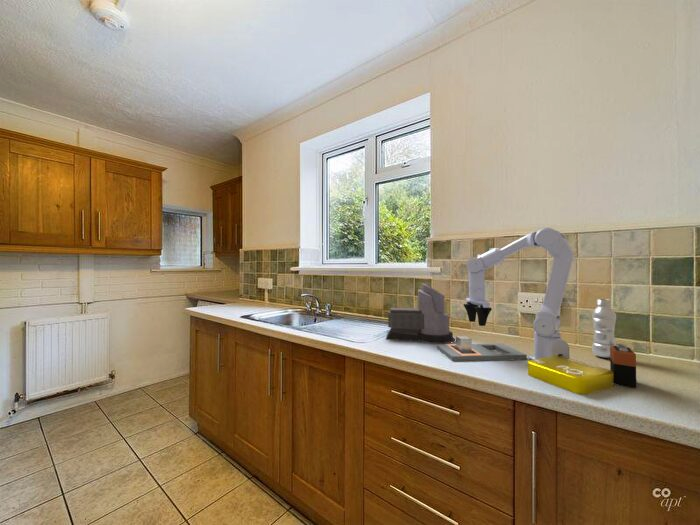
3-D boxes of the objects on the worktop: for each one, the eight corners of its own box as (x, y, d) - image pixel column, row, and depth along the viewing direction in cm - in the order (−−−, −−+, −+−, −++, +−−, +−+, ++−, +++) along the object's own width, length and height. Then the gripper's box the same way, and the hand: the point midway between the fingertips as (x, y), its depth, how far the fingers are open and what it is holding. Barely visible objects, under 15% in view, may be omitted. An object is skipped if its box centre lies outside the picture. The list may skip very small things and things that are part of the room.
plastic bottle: (609, 355, 99) (608, 298, 100) (622, 361, 93) (621, 301, 93) (587, 353, 101) (587, 298, 101) (598, 359, 95) (598, 300, 95)
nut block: (471, 355, 100) (471, 338, 100) (460, 355, 99) (460, 339, 99) (466, 352, 104) (466, 336, 104) (456, 352, 103) (455, 336, 103)
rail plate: (526, 359, 95) (526, 354, 96) (452, 360, 94) (452, 355, 94) (502, 347, 109) (502, 342, 109) (437, 348, 108) (437, 344, 108)
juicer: (452, 335, 130) (452, 282, 130) (459, 344, 114) (458, 284, 114) (387, 332, 136) (387, 281, 136) (385, 340, 120) (384, 283, 120)
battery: (631, 380, 78) (630, 344, 78) (637, 389, 72) (636, 350, 72) (610, 376, 80) (609, 341, 80) (613, 384, 75) (613, 347, 75)
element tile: (617, 387, 74) (617, 369, 74) (581, 397, 69) (581, 377, 69) (558, 368, 88) (557, 353, 88) (524, 375, 83) (524, 359, 83)
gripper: (458, 287, 116) (458, 320, 116) (476, 290, 102) (476, 327, 102) (475, 287, 117) (475, 319, 116) (494, 290, 102) (495, 327, 102)
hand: (477, 323), depth 109 cm, fingers open, 7 cm apart
